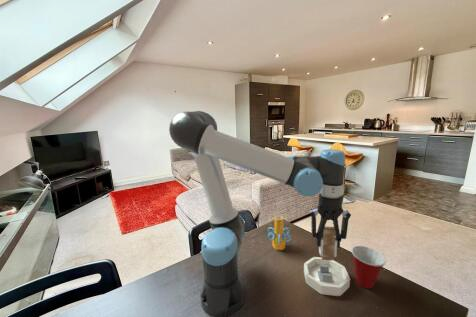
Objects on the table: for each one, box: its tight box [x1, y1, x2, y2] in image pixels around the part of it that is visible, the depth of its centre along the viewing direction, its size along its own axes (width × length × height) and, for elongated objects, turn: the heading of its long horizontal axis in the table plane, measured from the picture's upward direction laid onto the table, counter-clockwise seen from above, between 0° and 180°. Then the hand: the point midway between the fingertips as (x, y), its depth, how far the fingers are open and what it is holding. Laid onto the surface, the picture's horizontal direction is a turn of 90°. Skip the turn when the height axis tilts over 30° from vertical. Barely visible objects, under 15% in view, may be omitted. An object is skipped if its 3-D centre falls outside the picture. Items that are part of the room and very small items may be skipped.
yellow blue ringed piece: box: [267, 215, 292, 251], centre depth 100 cm, size 12×10×15 cm
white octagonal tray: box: [303, 256, 351, 297], centre depth 81 cm, size 15×15×4 cm
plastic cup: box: [350, 244, 387, 289], centre depth 77 cm, size 11×11×12 cm
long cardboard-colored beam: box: [320, 226, 336, 261], centre depth 78 cm, size 4×2×12 cm, turn 81°
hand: (327, 253), depth 79 cm, fingers closed on long cardboard-colored beam, 4 cm apart
